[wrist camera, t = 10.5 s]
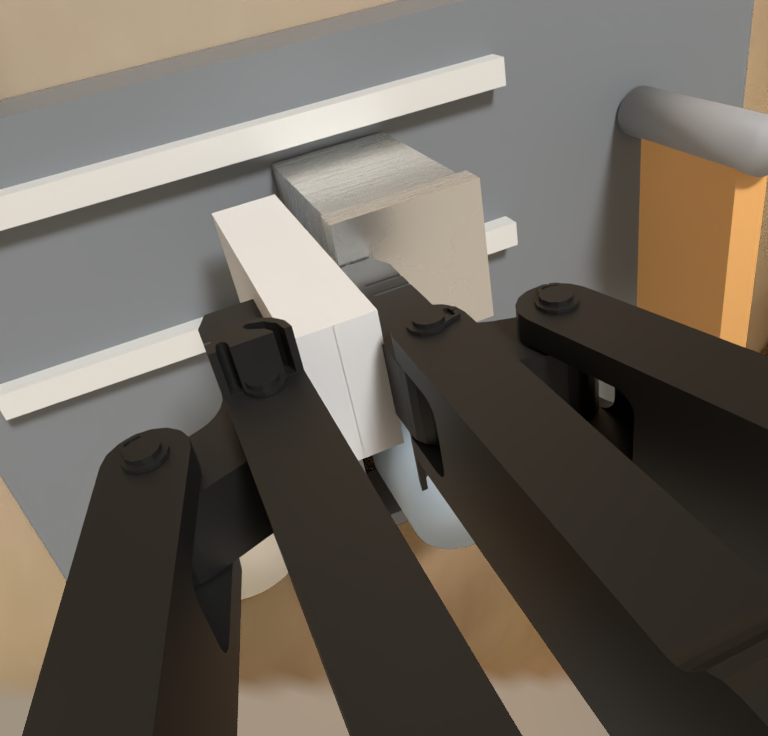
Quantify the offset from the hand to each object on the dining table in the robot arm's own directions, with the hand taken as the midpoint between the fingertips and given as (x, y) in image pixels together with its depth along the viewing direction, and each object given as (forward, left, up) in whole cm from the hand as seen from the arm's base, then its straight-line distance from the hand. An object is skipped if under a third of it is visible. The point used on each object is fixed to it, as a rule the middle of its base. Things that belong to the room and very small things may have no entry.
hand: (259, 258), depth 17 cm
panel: (+4, +4, -4) cm, 7 cm away
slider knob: (0, +3, -2) cm, 3 cm away
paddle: (+3, +12, -2) cm, 12 cm away
